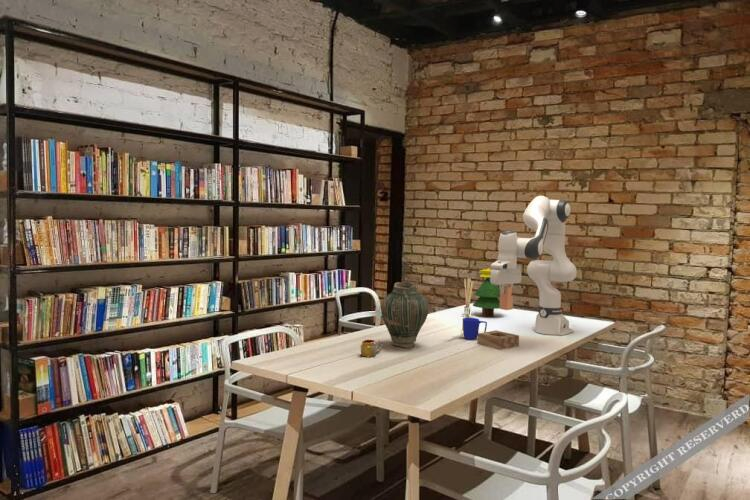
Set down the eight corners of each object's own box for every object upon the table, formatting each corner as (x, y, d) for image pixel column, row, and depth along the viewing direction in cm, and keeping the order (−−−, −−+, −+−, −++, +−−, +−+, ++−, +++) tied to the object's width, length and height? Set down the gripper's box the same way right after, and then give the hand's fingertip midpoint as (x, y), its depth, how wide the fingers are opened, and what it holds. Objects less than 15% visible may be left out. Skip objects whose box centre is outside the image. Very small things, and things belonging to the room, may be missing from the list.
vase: (396, 338, 282) (398, 278, 280) (435, 345, 270) (437, 282, 268) (370, 346, 264) (372, 282, 262) (411, 354, 252) (413, 287, 249)
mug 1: (367, 358, 242) (368, 343, 242) (357, 355, 247) (357, 340, 247) (387, 354, 250) (388, 339, 250) (377, 351, 255) (378, 336, 255)
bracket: (505, 308, 274) (506, 285, 273) (512, 309, 271) (513, 286, 270) (499, 308, 271) (500, 286, 270) (507, 310, 268) (508, 287, 267)
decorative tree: (496, 320, 338) (499, 270, 335) (467, 316, 348) (469, 267, 346) (508, 315, 354) (510, 267, 352) (479, 311, 364) (481, 265, 362)
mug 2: (486, 341, 280) (487, 321, 279) (461, 339, 283) (462, 320, 282) (486, 337, 288) (487, 318, 288) (462, 336, 291) (463, 317, 290)
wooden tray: (495, 340, 284) (496, 330, 283) (518, 345, 273) (519, 335, 273) (477, 343, 275) (477, 333, 274) (500, 349, 264) (500, 339, 264)
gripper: (514, 263, 278) (513, 291, 279) (488, 264, 265) (487, 293, 266) (525, 264, 274) (524, 292, 274) (499, 265, 260) (497, 295, 261)
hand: (505, 293), depth 270 cm, fingers closed on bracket, 3 cm apart
